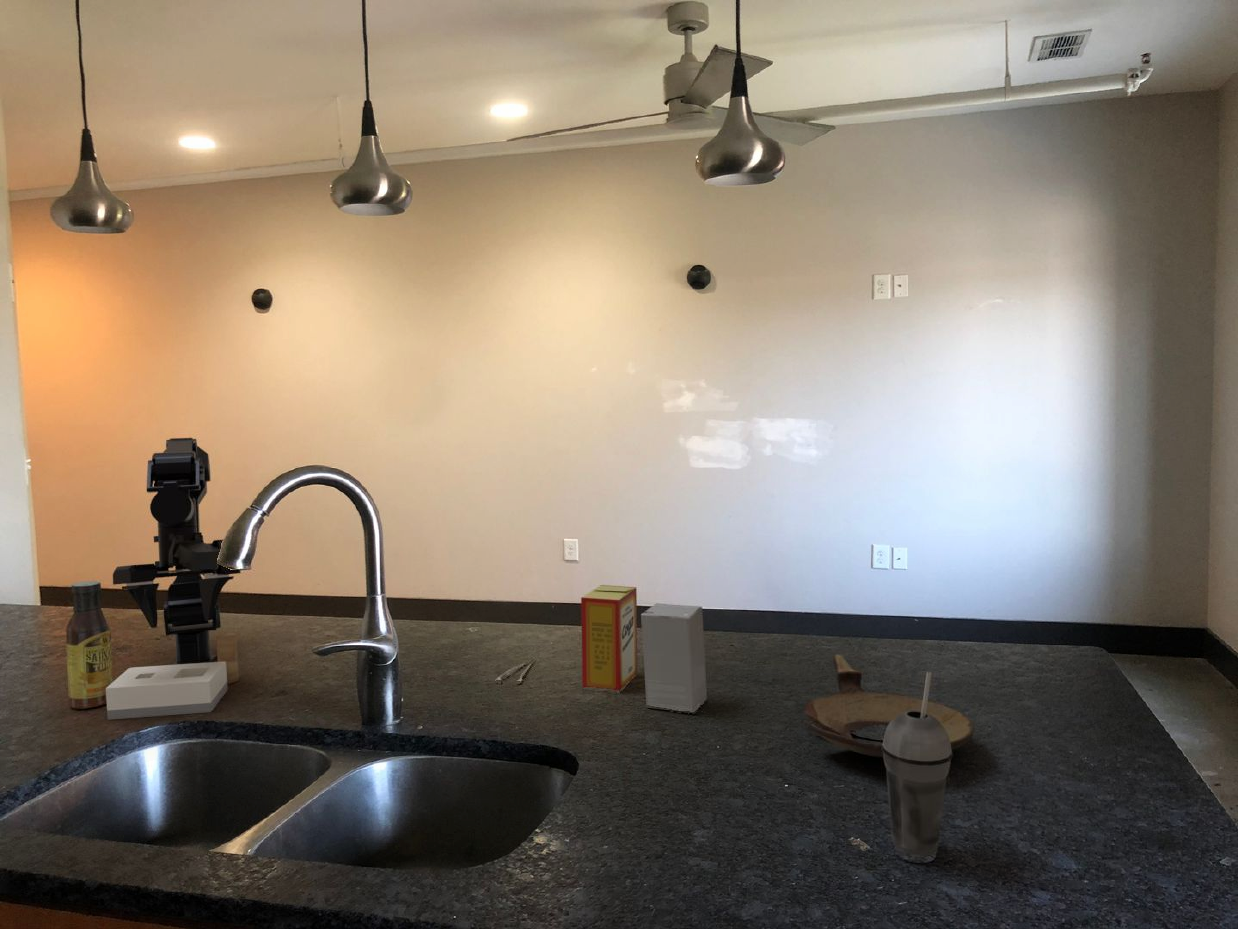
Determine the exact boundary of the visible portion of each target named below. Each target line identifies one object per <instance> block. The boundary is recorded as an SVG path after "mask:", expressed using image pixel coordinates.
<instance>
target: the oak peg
mask: <svg viewBox="0 0 1238 929" xmlns="http://www.w3.org/2000/svg"><path fill="white" fill-rule="evenodd" d="M237 636H238V635H237V634H236V633H230V632H227V633H221V634H219V635H217V636H215V638H216V654H217V656H216V657H217V662H224V661H226V671H227V685H230V684H234V683H237V682H239V680H240V676H239V674H240V673H239V658H238V654H239V653H238V643H237V642H238V641H237V640H238V638H237ZM236 681H237V682H236Z"/></svg>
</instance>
